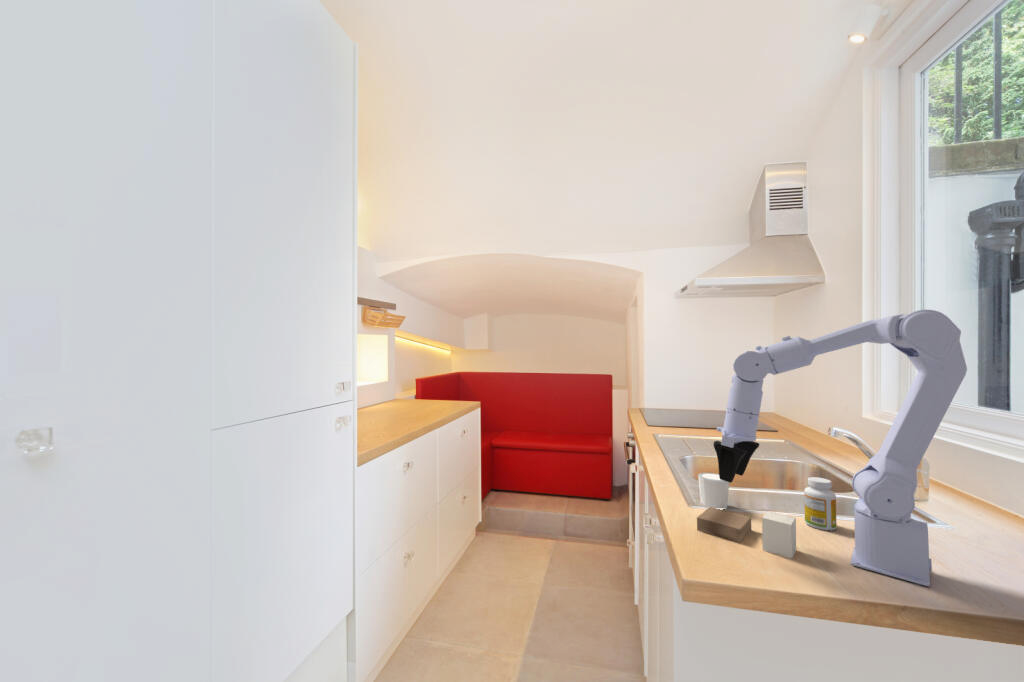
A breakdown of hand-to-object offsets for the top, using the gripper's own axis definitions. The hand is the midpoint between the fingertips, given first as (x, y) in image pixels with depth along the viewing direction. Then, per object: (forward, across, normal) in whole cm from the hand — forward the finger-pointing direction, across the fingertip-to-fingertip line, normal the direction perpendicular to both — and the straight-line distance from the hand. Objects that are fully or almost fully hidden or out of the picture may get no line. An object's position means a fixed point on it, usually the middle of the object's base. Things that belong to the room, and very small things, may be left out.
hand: (731, 477), depth 81 cm
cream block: (+10, 0, +10) cm, 14 cm away
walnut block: (+12, -2, 0) cm, 12 cm away
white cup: (+12, -15, -6) cm, 20 cm away
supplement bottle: (+9, -19, +14) cm, 25 cm away
